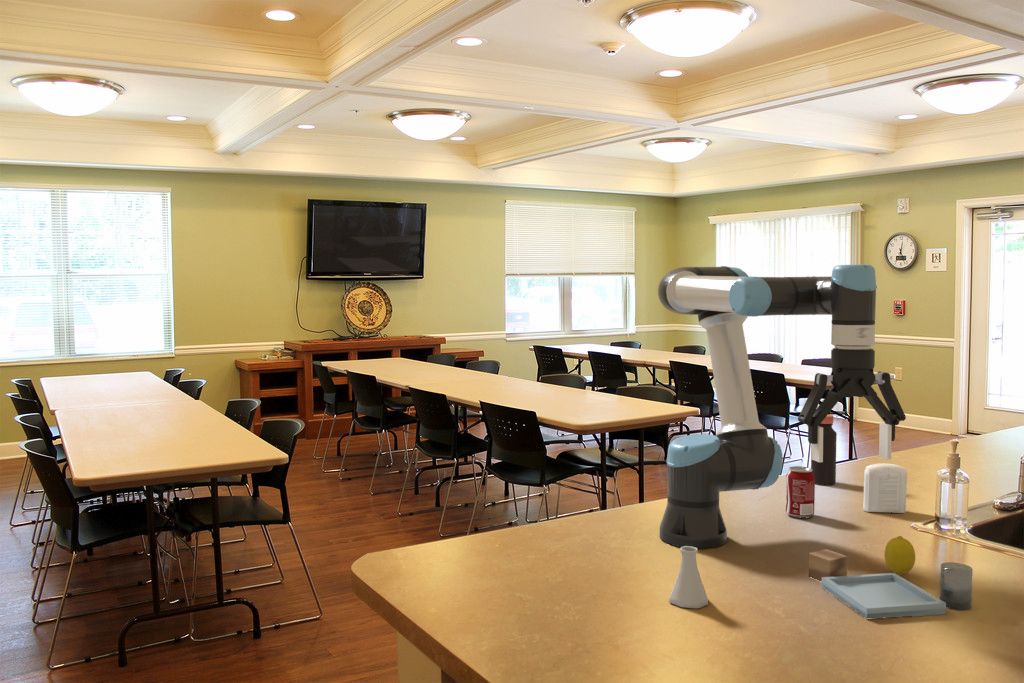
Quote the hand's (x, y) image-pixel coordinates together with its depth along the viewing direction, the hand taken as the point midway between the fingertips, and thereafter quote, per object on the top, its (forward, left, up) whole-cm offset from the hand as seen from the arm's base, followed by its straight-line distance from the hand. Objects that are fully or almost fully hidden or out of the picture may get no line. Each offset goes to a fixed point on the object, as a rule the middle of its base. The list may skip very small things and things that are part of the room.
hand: (851, 459), depth 150 cm
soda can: (+15, +47, -25) cm, 55 cm away
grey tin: (+15, -10, -25) cm, 31 cm away
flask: (-32, -1, -25) cm, 41 cm away
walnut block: (-1, +6, -25) cm, 26 cm away
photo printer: (+38, +47, -25) cm, 65 cm away
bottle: (+38, +77, -25) cm, 89 cm away
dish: (+3, -6, -25) cm, 26 cm away
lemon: (+14, +5, -25) cm, 29 cm away
